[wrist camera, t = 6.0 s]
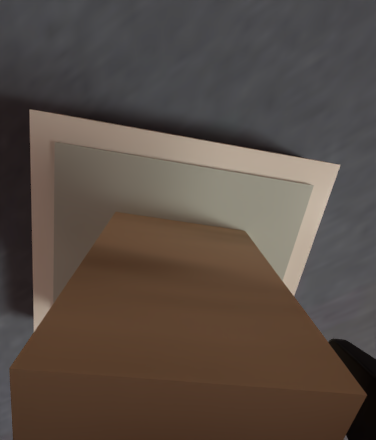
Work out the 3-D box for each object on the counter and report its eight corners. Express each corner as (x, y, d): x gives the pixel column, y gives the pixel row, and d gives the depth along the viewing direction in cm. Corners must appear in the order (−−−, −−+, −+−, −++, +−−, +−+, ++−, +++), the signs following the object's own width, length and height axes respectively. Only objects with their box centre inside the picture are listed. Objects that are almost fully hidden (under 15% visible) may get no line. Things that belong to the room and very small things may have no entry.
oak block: (218, 332, 11) (273, 569, 5) (105, 321, 10) (20, 571, 4) (245, 230, 9) (367, 394, 3) (115, 211, 9) (9, 368, 3)
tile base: (247, 341, 14) (264, 386, 12) (59, 324, 13) (32, 370, 11) (304, 157, 11) (344, 165, 9) (62, 114, 10) (25, 108, 7)
